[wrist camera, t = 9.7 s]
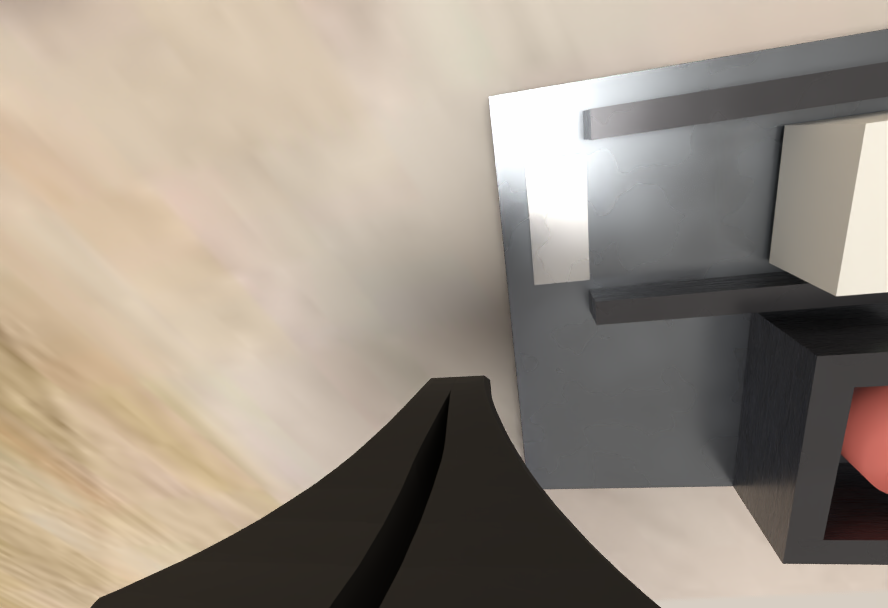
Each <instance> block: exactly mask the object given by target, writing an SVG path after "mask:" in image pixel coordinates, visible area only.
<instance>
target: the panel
mask: <svg viewBox="0 0 888 608" xmlns="http://www.w3.org/2000/svg"><path fill="white" fill-rule="evenodd" d="M489 104H490V114H491V124H492V134H493V144H494V154H495V164H496V174H497V184H498V194H499V204H500V214H501V224H502V234H503V244H504V254H505V264H506V274H507V284H508V294H509V304H510V314H511V324H512V334H513V344H514V354H515V364H516V374H517V384H518V394H519V403H520V413H521V423H522V433H523V443H524V453H525V463H526V466H527V468H528V469H529V471H530V472H531V474H532V475H533V476H534V478H535V479H536V481H537V482H538V483H539V485H540V486H541V487H542V489H586V488H646V487H707V486H733V487H734V488H735V490H736V491H737V493H738V495H739V496H740V498H741V499H742V501H743V502H744V504H745V505H746V507H747V509H748V510H749V512H750V513H751V515H752V516H753V518H754V519H755V521H756V523H757V524H758V526H759V527H760V529H761V530H762V532H763V533H764V535H765V537H766V538H767V540H768V541H769V543H770V544H771V546H772V547H773V549H774V551H775V552H776V554H777V555H778V557H779V558H780V560H781V562H782V563H783V564H871V565H888V494H886V493H884V492H882V491H880V490H879V489H877V488H876V487H874V486H873V485H872V484H871V483H870V482H869V481H868V480H867V479H866V478H865V477H864V476H863V475H862V474H861V473H860V472H859V471H858V470H857V469H856V468H854V467H853V466H852V465H851V464H850V463H849V462H848V461H847V460H846V459H845V458H844V457H843V456H842V455H841V451H842V446H843V441H844V436H845V431H846V426H847V421H848V417H849V412H850V407H851V402H852V397H853V392H854V387H874V386H888V292H884V293H871V294H859V295H846V296H834V295H832V294H830V293H828V292H826V291H824V290H822V289H820V288H818V287H816V286H814V285H812V284H810V283H808V282H806V281H804V280H802V279H800V278H798V277H796V276H794V275H792V274H790V273H788V272H786V271H784V270H782V269H780V268H778V267H776V266H774V265H772V264H770V263H769V259H770V250H771V242H772V233H773V224H774V215H775V207H776V198H777V189H778V180H779V172H780V163H781V154H782V145H783V137H784V128H785V125H790V124H797V123H805V122H812V121H819V120H826V119H833V118H840V117H847V116H854V115H861V114H868V113H875V112H882V111H888V29H885V30H879V31H873V32H867V33H861V34H855V35H849V36H843V37H838V38H832V39H826V40H820V41H814V42H808V43H802V44H796V45H790V46H785V47H779V48H773V49H767V50H761V51H755V52H749V53H743V54H737V55H731V56H726V57H720V58H714V59H708V60H702V61H696V62H690V63H684V64H678V65H673V66H667V67H661V68H655V69H649V70H643V71H637V72H631V73H625V74H619V75H614V76H608V77H602V78H596V79H590V80H584V81H578V82H572V83H566V84H561V85H555V86H549V87H543V88H537V89H531V90H525V91H519V92H513V93H508V94H502V95H496V96H490V97H489Z"/></svg>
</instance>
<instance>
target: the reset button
mask: <svg viewBox="0 0 888 608" xmlns="http://www.w3.org/2000/svg"><path fill="white" fill-rule="evenodd" d="M841 455H842V456H843V457H844V458H845V459H846V460H847V461H848V462H849V463H850V464H851V465H852V466H853V467H854V468H856V469H857V470H858V471H859V472H860V473H861V474H862V475H863V476H864V477H865V478H866V479H867V480H868V481H869V482H870V483H871V484H872V485H873V486H874V487H876V488H877V489H879V490H880V491H882V492H884V493H886V494H888V386H874V387H854V392H853V397H852V402H851V407H850V412H849V417H848V421H847V426H846V431H845V436H844V441H843V446H842V451H841Z"/></svg>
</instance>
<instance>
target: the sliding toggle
mask: <svg viewBox="0 0 888 608" xmlns="http://www.w3.org/2000/svg"><path fill="white" fill-rule="evenodd" d="M769 263H770V264H772V265H774V266H776V267H778V268H780V269H782V270H784V271H786V272H788V273H790V274H792V275H794V276H796V277H798V278H800V279H802V280H804V281H806V282H808V283H810V284H812V285H814V286H816V287H818V288H820V289H822V290H824V291H826V292H828V293H830V294H832V295H834V296H846V295H859V294H871V293H884V292H888V111H882V112H875V113H868V114H861V115H854V116H847V117H840V118H833V119H826V120H819V121H812V122H805V123H797V124H790V125H785V128H784V137H783V145H782V154H781V163H780V172H779V180H778V189H777V198H776V207H775V215H774V224H773V233H772V242H771V250H770V259H769Z"/></svg>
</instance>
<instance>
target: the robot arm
mask: <svg viewBox="0 0 888 608" xmlns="http://www.w3.org/2000/svg"><path fill="white" fill-rule="evenodd" d="M91 608H661V607H659V606H658V605H657V604H656V603H655V602H654V601H652V600H651V599H650V598H649V597H648V596H646V595H645V594H644V593H643V592H642V591H641V590H640V589H638V588H637V587H636V586H635V585H634V584H633V583H632V582H631V581H630V580H628V579H627V578H626V577H625V576H624V575H623V574H622V573H621V572H619V571H618V570H617V569H616V568H615V567H614V566H613V565H612V564H611V563H610V562H609V561H608V560H607V559H606V558H605V557H604V556H603V555H602V554H601V553H600V552H599V551H598V550H597V549H596V548H595V547H594V546H593V545H592V544H591V543H590V542H589V541H588V540H587V539H586V538H585V537H584V536H583V535H582V534H581V532H580V531H579V530H578V529H577V528H576V527H575V526H574V525H573V524H572V523H571V522H570V520H569V519H568V518H567V517H566V516H565V515H564V514H563V513H562V512H561V511H560V510H559V508H558V507H557V506H556V505H555V504H554V502H553V501H552V500H551V499H550V497H549V496H548V495H547V494H546V492H545V491H544V490H543V489H542V487H541V486H540V485H539V483H538V482H537V481H536V479H535V478H534V476H533V475H532V474H531V472H530V471H529V469H528V468H527V466H526V465H525V463H524V462H523V460H522V459H521V457H520V455H519V454H518V452H517V450H516V449H515V447H514V445H513V444H512V442H511V440H510V438H509V436H508V435H507V433H506V431H505V429H504V427H503V424H502V422H501V420H500V418H499V416H498V414H497V411H496V409H495V406H494V403H493V400H492V396H491V386H490V380H489V379H488V378H487V377H485V376H468V377H448V378H431V379H430V380H429V381H428V382H427V383H426V384H425V385H424V386H423V387H422V388H421V389H420V390H419V392H418V393H417V394H416V395H415V396H414V397H413V398H412V399H411V400H410V401H409V402H408V403H407V404H406V405H405V406H404V407H403V408H402V409H401V410H400V411H399V412H398V413H397V415H396V416H395V417H394V418H393V419H392V420H391V421H390V422H389V423H388V424H387V425H386V426H384V427H383V428H382V429H381V430H380V431H379V432H378V433H377V434H376V435H375V436H373V437H372V438H371V439H370V440H369V441H368V442H367V443H366V444H365V445H364V446H362V447H361V448H360V449H359V450H358V451H357V452H356V453H355V454H353V455H352V456H351V457H350V458H349V459H347V460H346V461H345V462H344V463H342V464H341V465H340V466H339V467H337V468H336V469H335V470H333V471H332V472H331V473H329V474H328V475H327V476H325V477H324V478H322V479H321V480H320V481H318V482H317V483H316V484H314V485H313V486H311V487H310V488H309V489H307V490H305V491H304V492H302V493H301V494H299V495H298V496H296V497H295V498H293V499H291V500H290V501H288V502H287V503H285V504H284V505H282V506H280V507H279V508H277V509H276V510H274V511H273V512H271V513H269V514H268V515H266V516H265V517H263V518H261V519H260V520H258V521H256V522H255V523H253V524H251V525H249V526H247V527H246V528H244V529H242V530H240V531H239V532H237V533H235V534H233V535H231V536H230V537H228V538H226V539H224V540H222V541H220V542H218V543H216V544H214V545H212V546H211V547H209V548H207V549H205V550H203V551H201V552H199V553H197V554H195V555H193V556H191V557H189V558H187V559H185V560H183V561H181V562H179V563H176V564H174V565H172V566H170V567H168V568H165V569H163V570H161V571H159V572H157V573H154V574H152V575H150V576H148V577H146V578H144V579H141V580H139V581H137V582H135V583H133V584H130V585H128V586H126V587H124V588H122V589H119V590H117V591H115V592H112V593H110V594H108V595H105V596H103V597H101V598H99V599H98V600H97V601H96V602H95V603H94V604H93V605H92V607H91Z"/></svg>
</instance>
